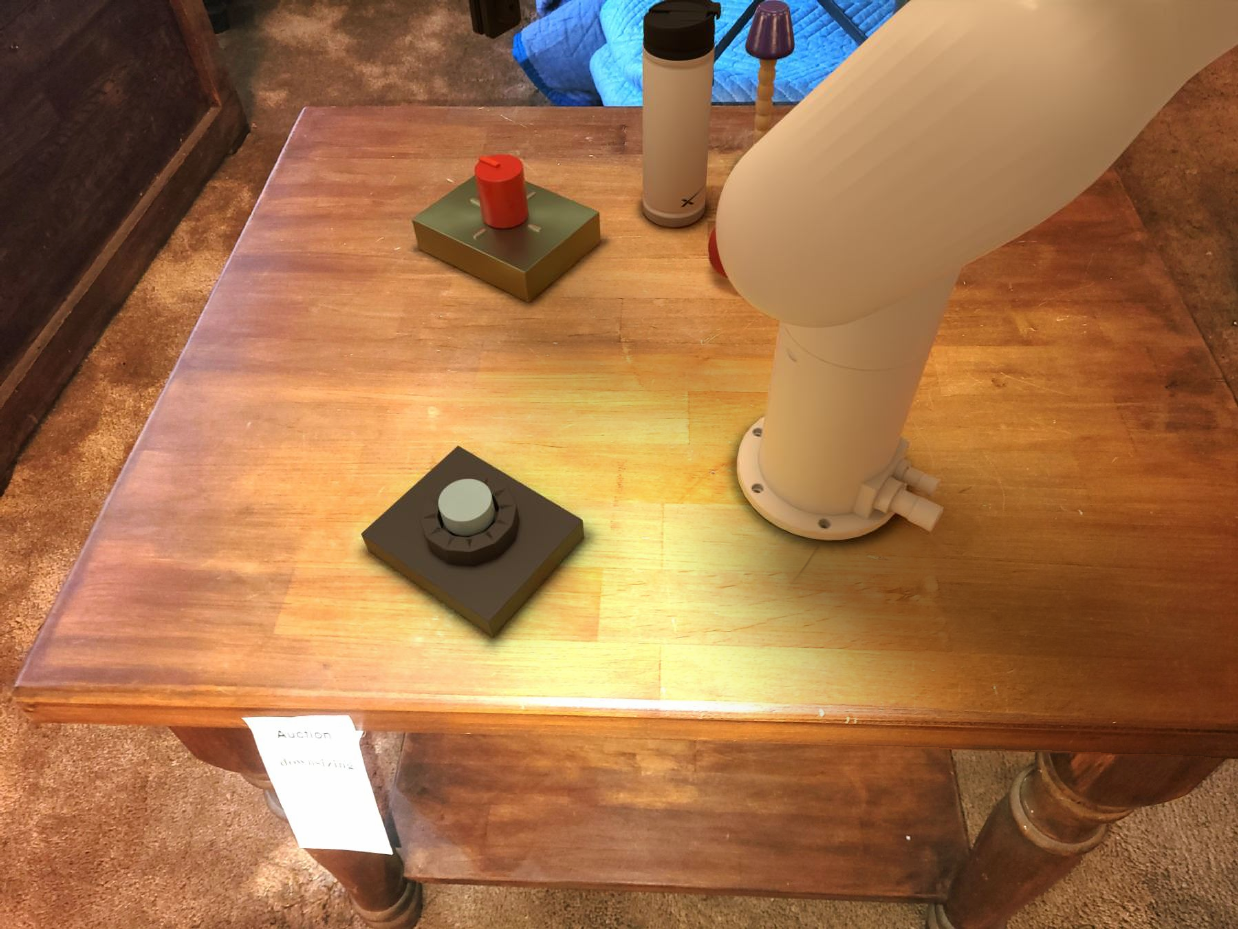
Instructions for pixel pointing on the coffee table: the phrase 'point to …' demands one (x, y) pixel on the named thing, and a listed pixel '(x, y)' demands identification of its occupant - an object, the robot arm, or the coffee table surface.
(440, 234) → the panel
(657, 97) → the travel mug
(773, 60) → the toy lamp
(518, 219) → the tap knob
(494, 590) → the button box
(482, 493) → the button
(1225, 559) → the coffee table surface
